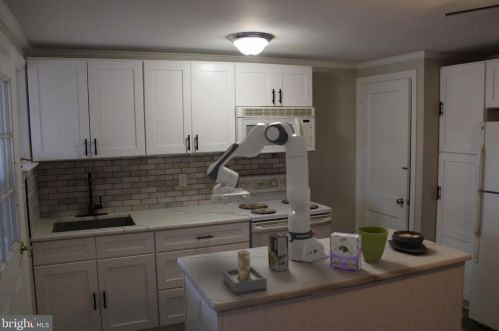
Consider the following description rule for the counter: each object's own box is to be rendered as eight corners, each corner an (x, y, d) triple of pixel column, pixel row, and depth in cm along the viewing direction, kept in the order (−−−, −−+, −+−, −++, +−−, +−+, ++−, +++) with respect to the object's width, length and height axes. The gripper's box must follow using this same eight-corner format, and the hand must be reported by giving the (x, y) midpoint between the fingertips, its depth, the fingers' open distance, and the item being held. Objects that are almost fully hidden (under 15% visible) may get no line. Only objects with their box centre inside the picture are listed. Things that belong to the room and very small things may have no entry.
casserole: (379, 244, 234) (379, 229, 233) (408, 241, 239) (408, 226, 238) (406, 257, 210) (407, 241, 209) (437, 253, 215) (438, 238, 214)
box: (252, 276, 188) (252, 266, 188) (266, 289, 173) (266, 278, 173) (223, 281, 183) (223, 270, 183) (235, 295, 168) (235, 283, 168)
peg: (247, 281, 181) (246, 250, 179) (250, 284, 177) (249, 252, 176) (238, 282, 179) (237, 251, 178) (241, 285, 176) (240, 253, 174)
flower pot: (374, 254, 216) (374, 224, 215) (394, 262, 203) (395, 231, 201) (351, 258, 211) (351, 227, 209) (369, 267, 197) (370, 234, 195)
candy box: (361, 268, 196) (361, 234, 195) (358, 272, 191) (358, 237, 189) (333, 263, 203) (333, 231, 202) (329, 267, 198) (329, 234, 196)
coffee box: (289, 269, 197) (288, 236, 196) (278, 271, 194) (277, 238, 192) (278, 263, 205) (278, 232, 203) (267, 266, 202) (267, 234, 200)
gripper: (208, 191, 215) (215, 195, 203) (244, 188, 223) (254, 191, 210) (208, 202, 216) (216, 207, 203) (244, 199, 223) (254, 203, 211)
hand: (235, 199), depth 207 cm, fingers open, 8 cm apart
